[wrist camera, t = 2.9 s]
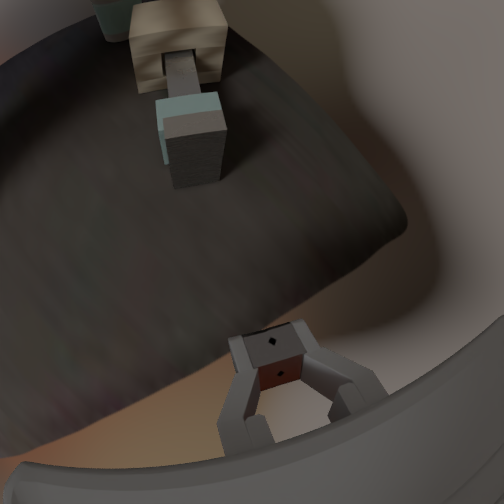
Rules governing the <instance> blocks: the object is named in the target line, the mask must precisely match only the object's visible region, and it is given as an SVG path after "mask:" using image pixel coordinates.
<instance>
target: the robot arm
mask: <svg viewBox="0 0 504 504" xmlns="http://www.w3.org/2000/svg"><path fill="white" fill-rule="evenodd" d="M228 342H229V347H230V351H231V356H232V360H233V364H234V367H235V371H236V374H235V376H234V378H233V381H232V384H231V387H230V389H229V392H228V395H227V397H226V400H225V403H224V406H223V408H222V411H221V413H220V416H219V419H218V421H217V427H218V431H219V435H220V438H221V442H222V446H223V449H224V453H225V457H219V458H214V459H209V460H204V461H199V462H192V463H185V464H177V465H169V466H159V467H146V468H128V469H94V468H93V469H92V468H75V467H63V466H53V465H46V464H40V463H34V462H27V461H25V462H21V463H20V464H19V465H18V466H17V467H16V468H15V470H14V471H13V473H12V474H11V475H10V477H9V478H8V480H7V482H6V484H5V487H4V493H3V504H504V315H502V316H500V317H499V318H498V319H497V320H495V321H494V322H493V323H492V324H491V325H490V326H489V327H488V328H486V329H485V330H484V331H483V332H482V333H480V334H479V335H478V336H477V337H476V338H474V339H473V340H472V341H471V342H469V343H468V344H467V345H465V346H464V347H463V348H462V349H460V350H459V351H458V352H456V353H455V354H454V355H452V356H451V357H450V358H448V359H447V360H445V361H444V362H442V363H441V364H439V365H438V366H436V367H435V368H433V369H432V370H431V371H429V372H427V373H426V374H424V375H423V376H421V377H420V378H418V379H416V380H415V381H413V382H412V383H410V384H408V385H406V386H405V387H403V388H401V389H400V390H398V391H396V392H394V393H393V394H391V395H388V393H387V392H386V390H385V389H384V387H383V386H382V384H381V383H380V381H379V380H378V378H377V377H376V375H375V374H374V372H373V371H372V370H370V369H368V368H366V367H363V366H361V365H359V364H357V363H355V362H353V361H351V360H349V359H347V358H345V357H343V356H341V355H339V354H337V353H335V352H333V351H331V350H329V349H327V348H325V347H323V348H320V346H319V344H318V343H317V341H316V339H315V338H314V336H313V334H312V333H311V331H310V329H309V328H308V326H307V324H306V323H305V321H304V320H303V319H298V320H295V321H291V322H287V323H284V324H281V325H277V326H273V327H270V328H267V329H265V330H260V331H256V332H252V333H248V334H243V335H239V336H235V337H231V338H228ZM299 379H301V381H303V382H304V383H306V384H307V385H309V386H310V387H311V388H313V389H314V390H316V391H318V392H319V393H320V394H322V395H323V396H325V397H326V398H328V399H329V400H331V401H332V402H333V404H332V406H331V408H330V411H329V413H328V418H329V420H330V422H331V423H330V424H328V425H326V426H323V427H321V428H318V429H315V430H313V431H310V432H307V433H305V434H302V435H299V436H296V437H293V438H291V439H287V440H284V441H281V442H278V443H275V441H274V439H273V436H272V434H271V431H270V429H269V426H268V424H267V421H266V419H265V416H263V415H260V414H258V415H255V412H256V409H257V405H258V401H259V397H260V393H261V392H260V391H264V390H267V389H270V388H273V387H276V386H279V385H282V384H286V383H289V382H292V381H296V380H299Z"/></svg>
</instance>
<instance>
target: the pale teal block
mask: <svg viewBox="0 0 504 504" xmlns="http://www.w3.org/2000/svg"><path fill="white" fill-rule="evenodd" d="M214 110H222V108H221V104H220V101H219V97H218V93H217V92H209V93H200V94H193V95H185V96H179V97H173V98H167V99H161V100H156V112H157V123H158V132H159V138H160V143H161V148H162V153H163V158H164V163H165V164H169V160H168V155H167V149H166V143H165V136H164V127H163V118H167V117H172V116H178V115H184V114H191V113H198V112H206V111H214Z"/></svg>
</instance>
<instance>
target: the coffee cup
mask: <svg viewBox="0 0 504 504" xmlns="http://www.w3.org/2000/svg"><path fill="white" fill-rule="evenodd" d="M91 2H92V5H93V8H94V10H95V13H96V16H97V19H98V21H99V24H100V27H101V29H102V32H103V34H104V37H105V39H106V41H108V42H120V41H124V40H127V39H129V32H130V24H131V17H132V11H133V5H136V4H141V3H142V0H91Z"/></svg>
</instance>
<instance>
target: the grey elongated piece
mask: <svg viewBox="0 0 504 504" xmlns="http://www.w3.org/2000/svg"><path fill="white" fill-rule="evenodd" d="M164 56H165V68H166V78H167V88H168V97H169V98H173V97H179V96H185V95H193V94H200V93H201V90H200V85H199V81H198V76H197V71H196V67H195V62H194V57H193V52H192V49H186V50H178V51H171V52H165V53H164ZM163 127H164V136H165V143H166V149H167V155H168V160H169V166H170V171H171V177H172V182H173V187H174V189H177V188H182V187H187V186H193V185H198V184H204V183H209V182H215V181H219V179H220V172H221V165H222V159H223V153H224V146H225V140H226V134H227V127H226V123H225V119H224V116H223V112H222V110H214V111H206V112H198V113H191V114H184V115H178V116H172V117H167V118H163Z"/></svg>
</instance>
